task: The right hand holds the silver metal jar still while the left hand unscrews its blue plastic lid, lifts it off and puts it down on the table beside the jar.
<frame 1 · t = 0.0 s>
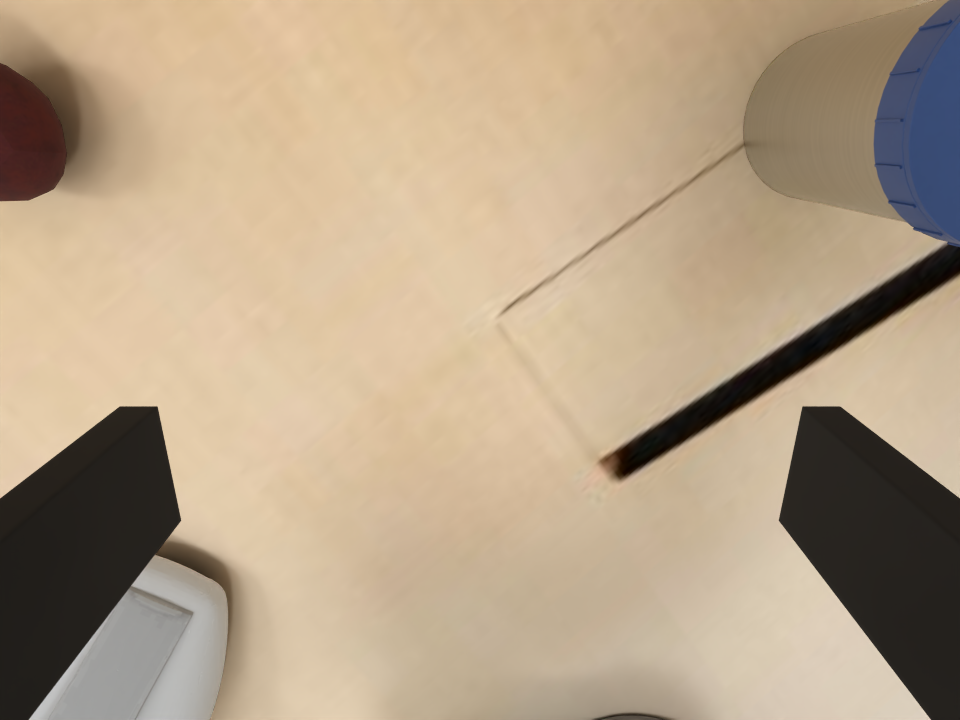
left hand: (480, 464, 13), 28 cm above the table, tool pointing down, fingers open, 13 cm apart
dark red rounded piece: (32, 132, 37), on the table
projector: (138, 648, 51), on the table
jar: (821, 118, 36), on the table
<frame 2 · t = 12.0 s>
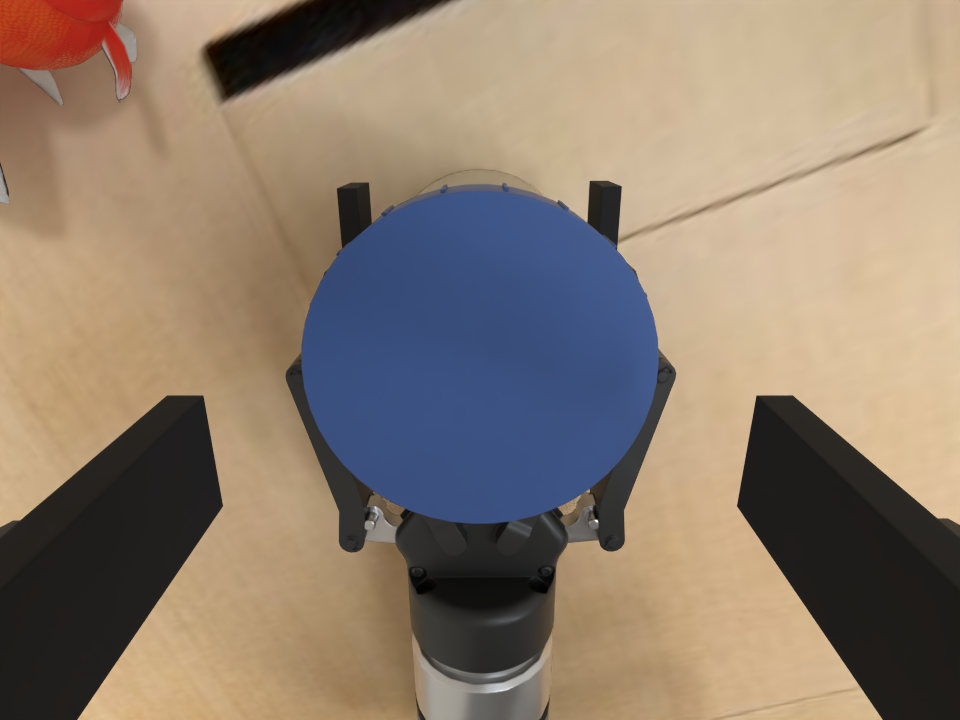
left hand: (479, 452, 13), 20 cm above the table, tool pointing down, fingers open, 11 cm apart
right hand: (479, 184, 24), fingers closed on jar, 9 cm apart
fish: (53, 70, 29), on the table
lid: (479, 370, 18), point 15 cm above the table, screwed on, not yet turned
jar: (480, 261, 32), on the table, touching right hand
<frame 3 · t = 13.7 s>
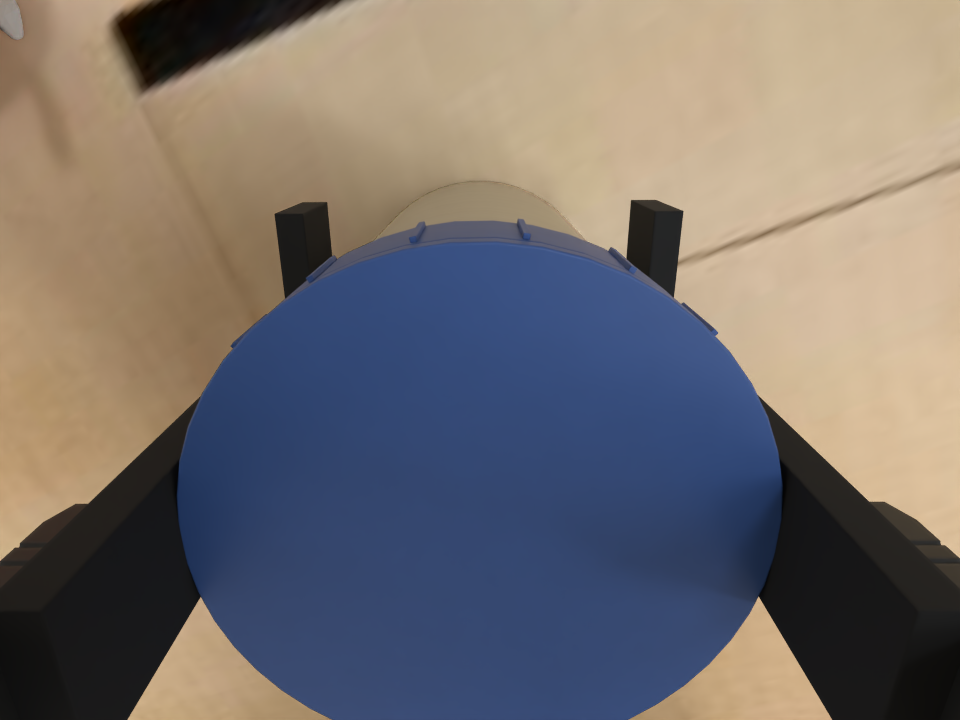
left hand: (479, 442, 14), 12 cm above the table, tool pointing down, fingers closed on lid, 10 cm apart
lid: (479, 529, 11), point 15 cm above the table, screwed on, not yet turned, touching left hand
jar: (479, 298, 25), on the table, touching right hand
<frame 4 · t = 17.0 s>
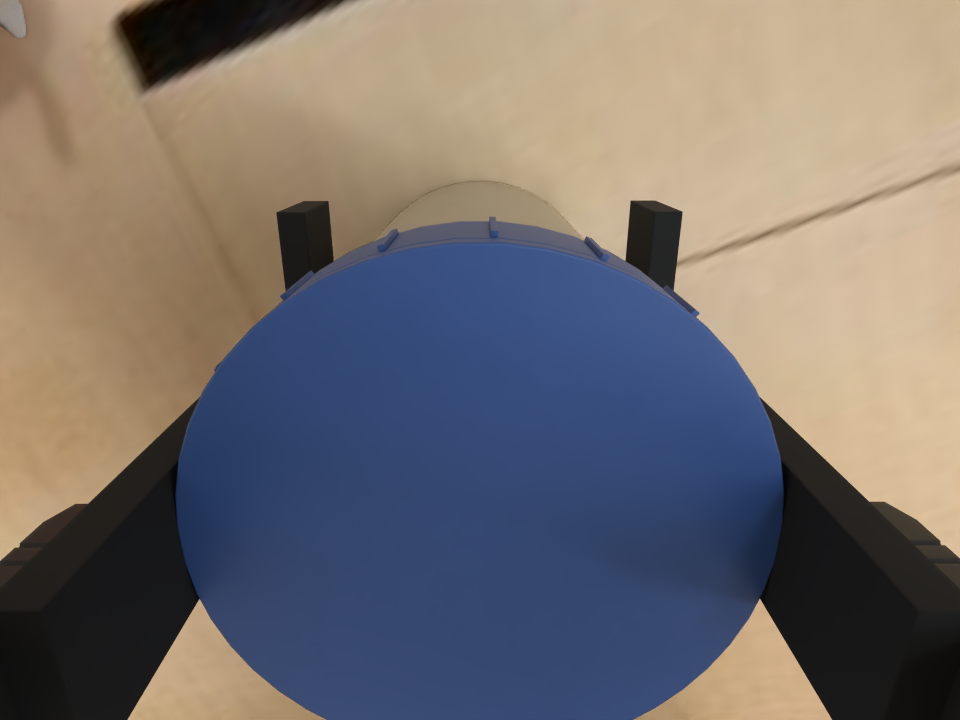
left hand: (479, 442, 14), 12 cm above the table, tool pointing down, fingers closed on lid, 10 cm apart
lid: (479, 531, 11), point 16 cm above the table, turned 119° so far, risen 0.1 cm, still on its thread, touching left hand
jar: (479, 298, 25), on the table, touching right hand
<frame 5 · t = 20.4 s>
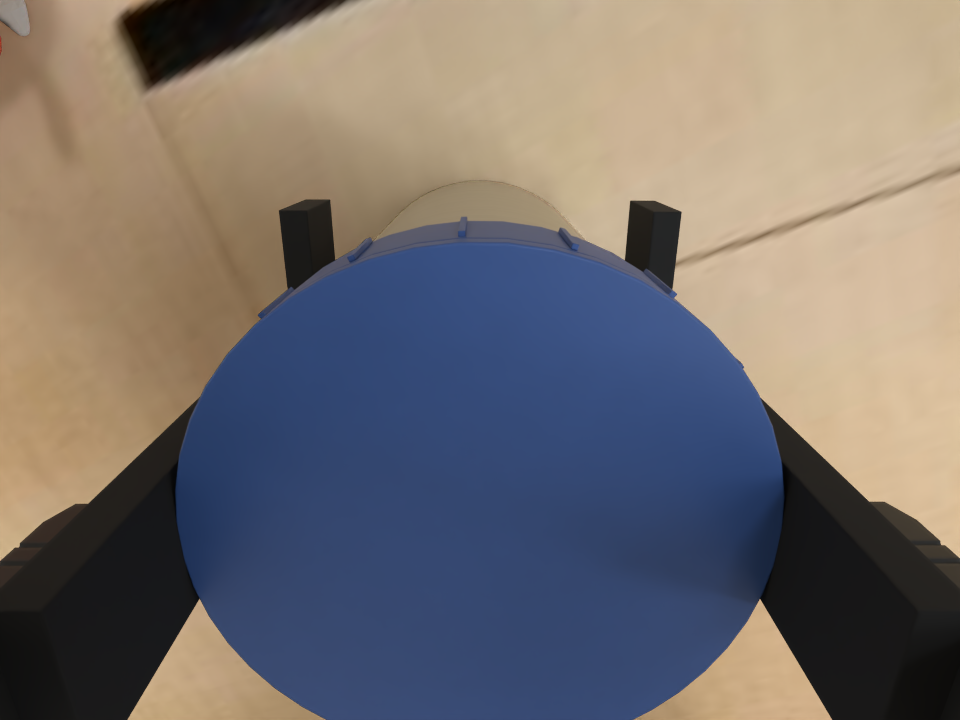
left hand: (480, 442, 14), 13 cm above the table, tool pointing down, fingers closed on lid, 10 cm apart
lid: (479, 531, 11), point 16 cm above the table, turned 239° so far, risen 0.3 cm, still on its thread, touching left hand
jar: (479, 297, 25), on the table, touching right hand
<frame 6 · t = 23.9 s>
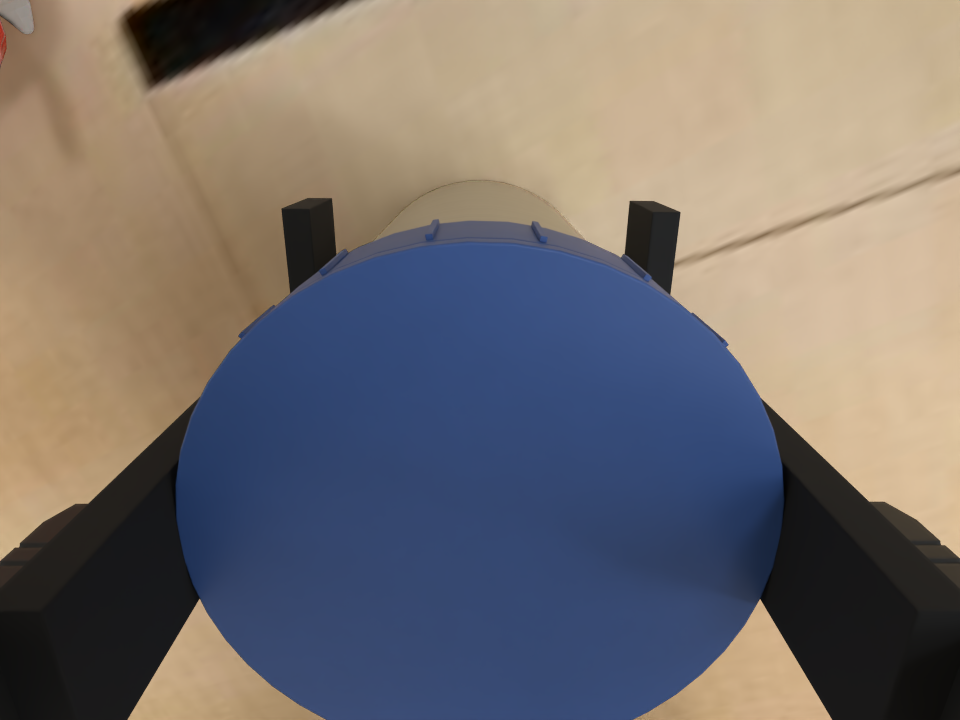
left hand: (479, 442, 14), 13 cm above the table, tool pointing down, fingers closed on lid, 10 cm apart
lid: (479, 531, 11), point 16 cm above the table, turned 358° so far, risen 0.5 cm, still on its thread, touching left hand
jar: (479, 296, 25), on the table, touching right hand
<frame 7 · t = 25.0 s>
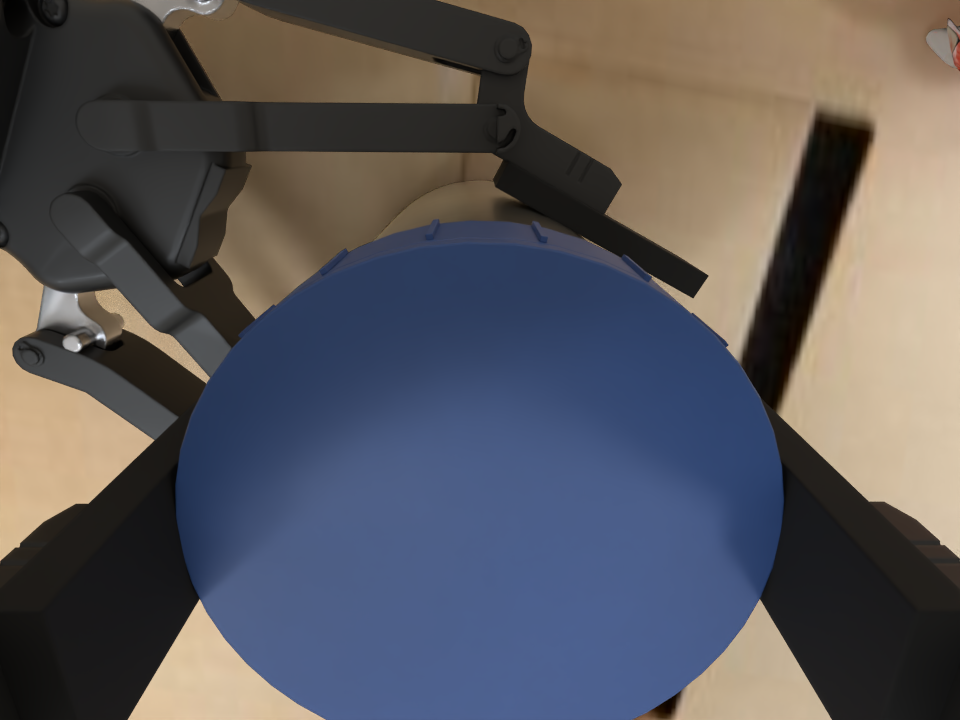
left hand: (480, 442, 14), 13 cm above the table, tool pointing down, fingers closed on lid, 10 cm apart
right hand: (597, 407, 20), fingers closed on jar, 9 cm apart
lid: (479, 530, 11), point 16 cm above the table, off its thread, touching left hand
jar: (479, 295, 26), on the table, touching right hand
when the left hand's fingers open (0 cm above the table, at t = 30.0 s): lid drops 2 cm, point 2 cm above the table.
when the right hand's fingers open (7 cm above the table, at t = 31.0 s): jar stays where it is, on the table.
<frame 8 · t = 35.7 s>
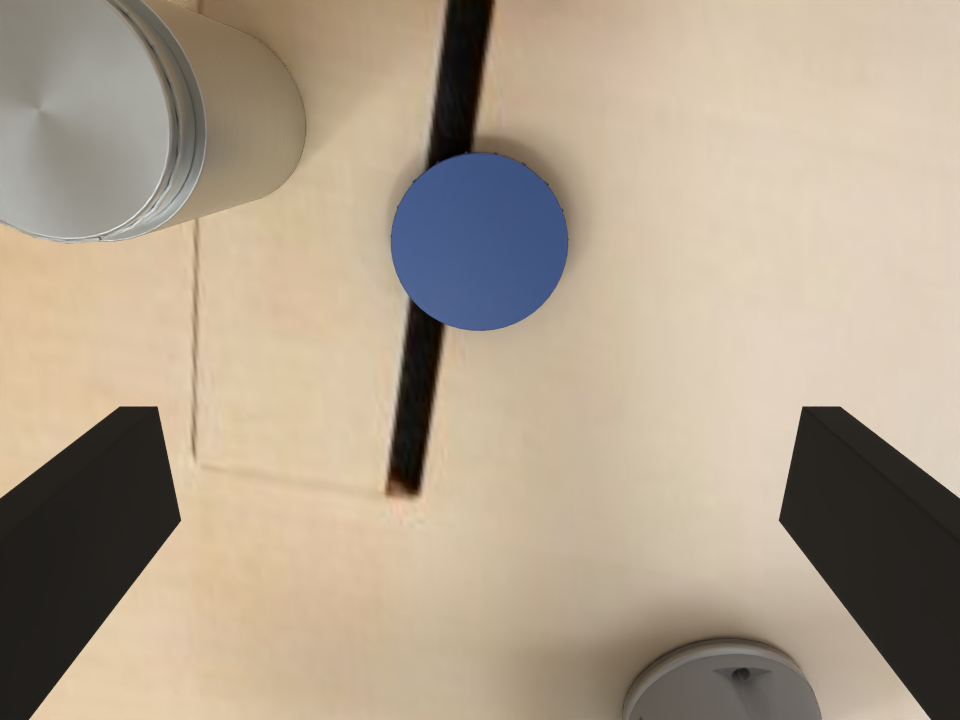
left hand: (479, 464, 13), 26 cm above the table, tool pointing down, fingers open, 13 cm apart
lid: (479, 245, 35), point 2 cm above the table, off its thread
jar: (223, 118, 34), on the table
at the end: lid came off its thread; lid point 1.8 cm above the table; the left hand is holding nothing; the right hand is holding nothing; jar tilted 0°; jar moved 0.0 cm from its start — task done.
